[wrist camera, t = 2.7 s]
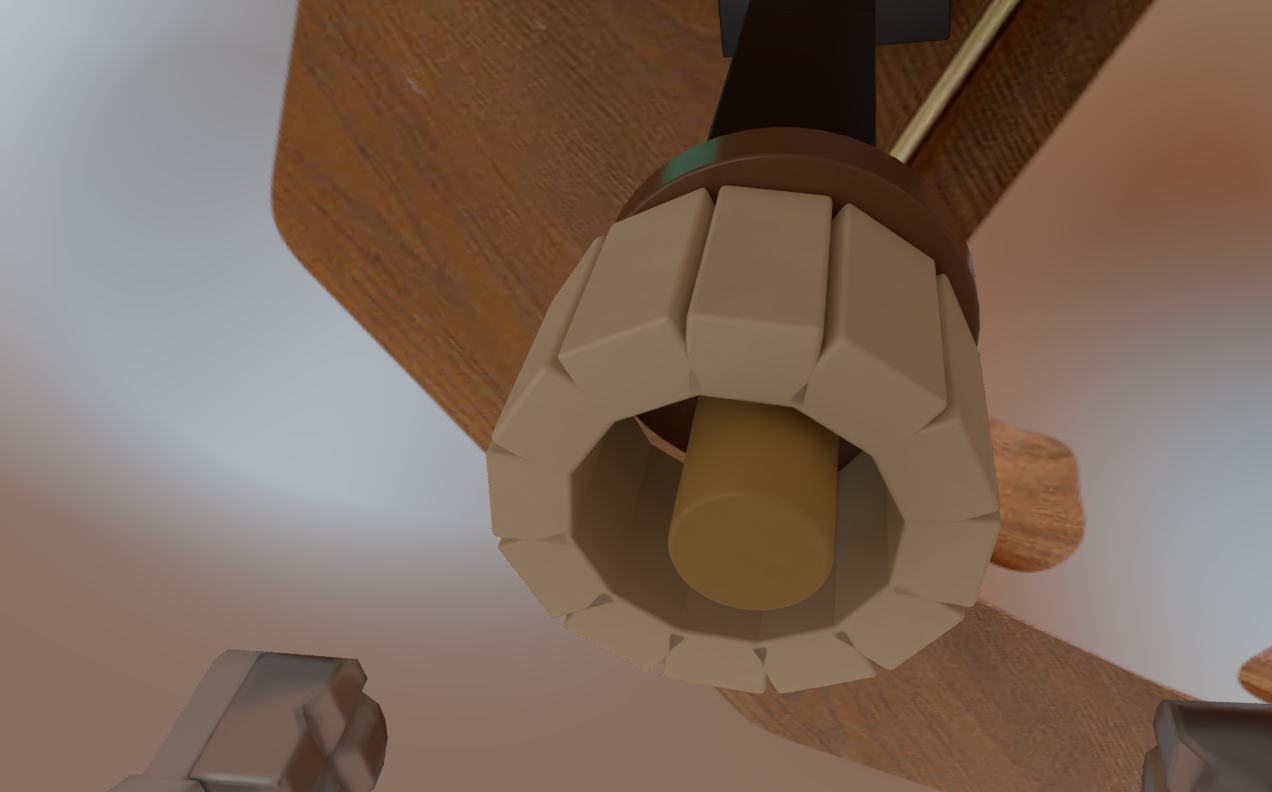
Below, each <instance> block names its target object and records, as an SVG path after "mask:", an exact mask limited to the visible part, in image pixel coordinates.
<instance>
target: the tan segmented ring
mask: <svg viewBox="0 0 1272 792" xmlns="http://www.w3.org/2000/svg"><path fill="white" fill-rule="evenodd" d="M832 204H833V203H832V199H831V197H829V196H825V195H815V194H806V193H796V192H787V191H777V190H767V189H758V188H748V187H739V186H729V185H725V186H722V187H721V189H720V190H719V194H718V198H717V202H716V205H715V204H714V202H713V201H712V199H711V197H710V195H709V193H708V191H707V190H706V189H705V188H700V189H697V190H695V191H693V192H690V193H688V194H685V195H683V196H680V197H678V198H676V199H673V200H671V201H668V202H666V203H663V204H661V205H658V206H656V207H654V208H651V209H649V210H646V211H644V212H641V213H639V214H637V215H634V216H632V217H629V218H627V219H624V220H622V221H619V222H617V223H615V224H613V225H612V226H611V228H610V230H609V233H608V235H607V238H605V237H603V236H599V237H598V238H596V239H595V240H594V242H593V243H592V245H591V246H590V248H589V249H588V250H587V252H586V253H585V255H584V256H583V258H582V259H581V261H580V262H579V263H578V265H577V266H576V268H575V269H574V271H573V272H572V273H571V275H570V276H569V278H568V279H567V281H566V282H565V284H564V285H563V286H562V288H561V289H560V291H559V292H558V294H557V295H556V297H555V298H554V299H553V301H552V302H551V305H550V307H549V309H548V311H547V314H546V316H545V318H544V320H543V322H542V325H541V327H540V329H539V331H538V333H537V336H536V338H535V340H534V342H533V345H532V347H531V349H530V351H529V353H528V356H527V358H526V360H525V362H524V364H523V367H522V369H521V371H520V373H519V376H518V378H517V380H516V382H515V384H514V387H513V389H512V391H511V393H510V395H509V398H508V400H507V402H506V404H505V407H504V409H503V411H502V413H501V415H500V418H499V420H498V422H497V424H496V426H495V429H494V431H493V433H492V442H491V444H490V446H489V449H488V451H487V453H486V459H487V471H488V483H489V496H490V508H491V520H492V532H493V534H494V535H495V536H499V537H502V538H501V540H500V543H499V546H498V548H499V550H500V552H501V553H502V554H503V556H504V557H505V558H506V559H507V561H508V562H509V563H510V564H511V566H512V567H513V568H514V570H515V571H516V572H517V573H518V575H519V576H520V577H521V579H522V580H523V581H524V582H525V584H526V585H527V586H528V587H529V589H530V590H531V591H532V593H533V594H534V595H535V597H536V598H537V599H538V600H539V602H540V603H541V604H542V606H543V607H544V608H545V609H546V611H547V612H548V613H549V615H550V616H551V617H559V616H562V615H567V616H566V619H565V623H564V626H565V628H567V629H569V630H570V631H572V632H574V633H576V634H578V635H580V636H582V637H583V638H585V639H587V640H589V641H591V642H592V643H594V644H596V645H598V646H600V647H602V648H603V649H605V650H607V651H609V652H611V653H613V654H615V655H616V656H618V657H620V658H622V659H624V660H625V661H627V662H629V663H631V664H633V665H635V666H637V667H638V668H640V669H642V670H644V671H646V672H651V671H652V670H653V669H654V668H655V667H656V666H658V665H659V664H660V663H661V662H662V661H663V660H664V666H663V674H664V677H665V678H667V679H673V680H680V681H686V682H692V683H698V684H704V685H710V686H716V687H722V688H728V689H734V690H740V691H747V692H753V693H759V694H761V693H764V691H765V690H766V683H767V677H768V678H769V679H770V681H771V682H772V684H773V685H774V687H775V688H776V690H777V691H778V692H779V693H782V694H783V693H789V692H794V691H800V690H805V689H811V688H816V687H822V686H827V685H833V684H838V683H844V682H849V681H855V680H860V679H866V678H871V677H874V676H876V674H877V664H879V665H881V666H883V667H884V668H886V669H888V670H892V669H894V668H896V667H897V666H899V665H900V664H901V663H903V662H904V661H906V660H907V659H908V658H910V657H911V656H913V655H914V654H915V653H917V652H918V651H920V650H921V649H923V648H924V647H925V646H927V645H928V644H930V643H931V642H932V641H934V640H935V639H937V638H938V637H939V636H941V635H942V634H944V633H945V632H947V631H948V630H949V629H951V628H952V627H954V626H955V625H956V624H958V623H959V622H961V621H962V620H963V619H964V616H965V612H964V606H967V607H971V606H974V605H975V603H976V600H977V597H978V594H979V591H980V588H981V585H982V582H983V579H984V576H985V573H986V570H987V567H988V564H989V561H990V558H991V555H992V552H993V549H994V546H995V543H996V540H997V537H998V534H999V531H1000V528H1001V521H1000V514H999V508H1000V501H999V493H998V486H997V479H996V471H995V464H994V457H993V449H992V442H991V434H990V427H989V420H988V412H987V405H986V398H985V391H984V384H983V376H982V368H981V361H980V354H979V352H978V349H977V346H976V344H975V342H974V339H973V337H972V334H971V332H970V330H969V327H968V325H967V322H966V320H965V317H964V315H963V313H962V310H961V308H960V305H959V303H958V300H957V298H956V296H955V293H954V291H953V288H952V286H951V284H950V281H949V279H948V277H947V276H946V275H945V274H939V275H936V270H935V262H934V260H933V259H932V258H930V257H929V256H927V255H926V254H924V253H923V252H921V251H920V250H918V249H917V248H916V247H914V246H913V245H911V244H910V243H908V242H907V241H905V240H904V239H902V238H901V237H899V236H898V235H896V234H895V233H893V232H892V231H891V230H889V229H888V228H886V227H885V226H883V225H882V224H880V223H879V222H877V221H876V220H874V219H873V218H871V217H870V216H868V215H867V214H865V213H864V212H863V211H861V210H860V209H858V208H857V207H855V206H854V205H852V204H850V203H848V204H846V205H845V206H844V207H843V208H842V209H841V210H840V211H839V212H838V213H837V215H836V216H835V217H834V218H833V219H832V220H831V218H832ZM698 395H702V396H710V397H717V398H725V399H733V400H741V401H748V402H756V403H764V404H771V405H779V406H787V407H794V408H796V409H797V410H799V411H800V412H802V413H804V414H805V415H807V416H808V417H810V418H812V419H813V420H815V421H816V422H818V423H820V424H821V425H823V426H824V427H826V428H828V429H829V430H831V431H833V432H834V433H836V434H837V435H839V436H841V437H842V438H844V439H845V440H847V441H849V442H850V443H852V444H853V445H855V446H857V447H858V448H860V449H861V450H863V451H861V452H860V453H859V454H858V455H857V456H856V457H855V458H854V459H853V460H852V461H851V462H849V463H848V464H847V465H846V466H845V467H844V468H843V469H842V470H840V471H837V494H836V518H835V541H834V562H833V566H832V569H831V572H830V574H829V576H828V578H827V579H826V580H825V582H824V583H823V585H822V586H821V587H820V588H819V589H818V590H817V591H816V592H815V593H814V594H812V595H811V596H810V597H808V598H807V599H805V600H803V601H801V602H799V603H796V604H794V605H791V606H788V607H784V608H779V609H773V610H745V609H739V608H734V607H730V606H727V605H723V604H721V603H718V602H715V601H713V600H711V599H709V598H707V597H705V596H703V595H702V594H700V593H698V592H697V591H696V590H694V589H693V588H692V587H691V586H689V585H688V584H687V583H686V582H685V581H684V580H683V578H682V577H681V576H680V575H679V573H678V572H677V570H676V569H675V567H674V565H673V562H672V560H671V557H670V554H669V550H668V534H669V529H670V524H671V520H672V515H673V511H674V506H675V501H676V497H677V492H678V488H679V483H680V478H681V474H682V469H683V465H684V464H683V463H682V462H680V461H678V460H677V459H675V458H673V457H672V456H670V455H668V454H667V453H665V452H663V451H662V450H660V449H658V448H657V447H655V446H653V445H652V444H651V443H650V441H649V440H648V438H647V437H646V435H645V434H644V432H643V430H642V429H641V427H640V426H639V424H638V423H637V421H636V419H635V418H634V416H635V415H638V414H641V413H644V412H647V411H651V410H654V409H657V408H660V407H663V406H666V405H669V404H672V403H676V402H679V401H682V400H685V399H688V398H691V397H694V396H698Z"/></svg>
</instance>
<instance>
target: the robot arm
mask: <svg viewBox="0 0 1272 792" xmlns="http://www.w3.org/2000/svg"><path fill="white" fill-rule="evenodd" d="M366 681H367V676H366V675H365V673H364V671H363V669H362V667H361V665H360V663H359V661H358V659H351V658H338V657H325V656H313V655H300V654H299V655H298V654H287V653H274V652H262V651H245V650H227V651H225V652H224V653H223V654H222V655H220V656H219V657H218V658H216V659H215V660H214V661H213V663H212V664H211V666H210V667H209V669H208V671H207V672H206V674H205V676H204V677H203V679H202V680H201V682H200V683H199V685H198V687H197V688H196V690H195V692H194V693H193V695H192V696H191V698H190V700H189V701H188V703H187V704H186V706H185V708H184V709H183V711H182V712H181V714H180V716H179V717H178V719H177V720H176V722H175V724H174V725H173V727H172V729H171V730H170V732H169V733H168V735H167V737H166V738H165V740H164V742H163V743H162V745H161V746H160V748H159V749H158V751H157V753H156V754H155V756H154V758H153V759H152V761H151V762H150V764H149V765H148V767H147V769H146V770H145V772H144V774H143V775H129V776H128V777H127V778H125V779H124V780H122V781H121V782H120V783H118V784H117V785H115V786H114V787H113V788H111V789H110V790H109V791H107V792H371V791H372V790H373V789H374V788H375V785H376V783H377V780H378V778H379V775H380V772H381V770H382V767H383V765H384V759H385V752H386V745H387V738H388V737H387V730H386V722H385V717H384V715H383V713H382V710H381V708H380V705H379V704H378V703H377V702H375V701H374V700H373V699H371V698H370V697H369V696H367V695H366V694H365V693H363V692H362V689H363V687H364V685H365V683H366ZM1153 727H1154V731H1155V735H1156V740H1157V744H1158V746H1156V747H1155V748H1153V749H1152V750H1150V751H1149V752H1147V753H1146V755H1145V761H1144V766H1143V772H1142V792H1272V704H1257V703H1231V702H1206V701H1180V700H1162V702H1161V703H1160V704H1159V705H1158V706H1157V709H1156V713H1155V717H1154V721H1153Z"/></svg>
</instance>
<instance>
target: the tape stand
mask: <svg viewBox="0 0 1272 792" xmlns="http://www.w3.org/2000/svg"><path fill="white" fill-rule="evenodd" d="M718 7H719V17H720V28H721V39H722V49H723V56H724V57H732V61H731V64H730V67H729V71H728V74H727V77H726V81H725V84H724V87H723V90H722V94H721V97H720V100H719V104H718V107H717V110H716V114H715V117H714V120H713V124H712V127H711V130H710V134H709V137H708V140H707V142H704V143H702V144H699V145H697V146H694V147H692V148H691V149H689V150H687V151H685V152H683V153H682V154H680V155H678V156H676V157H674V158H673V159H671V160H670V161H669V162H667V163H666V164H665V165H663V166H662V167H661V168H659V169H658V170H657V171H655V172H654V173H653V174H652V175H651V176H650V177H649V178H648V179H647V180H646V181H645V182H644V183H643V184H642V185H641V186H640V187H639V188H638V189H637V190H636V191H635V192H634V194H633V195H632V196H631V198H630V199H629V200H628V202H627V203H626V204H625V206H624V207H623V209H622V210H621V212H620V214H619V216H618V218H617V220H616V222H615V223H617V222H619V221H622V220H624V219H627V218H629V217H632V216H634V215H637V214H639V213H641V212H644V211H646V210H649V209H651V208H654V207H656V206H658V205H661V204H663V203H666V202H668V201H671V200H673V199H676V198H678V197H680V196H683V195H685V194H688V193H690V192H693V191H695V190H697V189H700V188H705V189H706V190H707V191H708V193H709V195H710V197H711V199H712V201H713V202H714V204H715V205H716V202H717V198H718V194H719V190H720V189H721V187H722V186H725V185H729V186H739V187H748V188H758V189H767V190H777V191H787V192H796V193H806V194H815V195H825V196H829V197H831V199H832V203H833V204H832V218H831V220H832V219H833V218H834V217H835V216H836V215H837V213H838V212H839V211H840V210H841V209H842V208H843V207H844V206H845V205H846V204H848V203H850V204H852V205H854V206H855V207H857V208H858V209H860V210H861V211H863V212H864V213H865V214H867V215H868V216H870V217H871V218H873V219H874V220H876V221H877V222H879V223H880V224H882V225H883V226H885V227H886V228H888V229H889V230H891V231H892V232H893V233H895V234H896V235H898V236H899V237H901V238H902V239H904V240H905V241H907V242H908V243H910V244H911V245H913V246H914V247H916V248H917V249H918V250H920V251H921V252H923V253H924V254H926V255H927V256H929V257H930V258H932V259H933V260H934V262H935V270H936V275H939V274H945V275H946V276H947V277H948V279H949V281H950V284H951V286H952V288H953V291H954V293H955V296H956V298H957V300H958V303H959V305H960V308H961V310H962V313H963V315H964V317H965V320H966V322H967V325H968V327H969V330H970V332H971V334H972V337H973V339H974V342H975V344H976V346H977V344H978V336H979V329H980V324H979V323H980V321H979V302H978V295H977V289H976V281H975V275H974V269H973V264H972V259H971V254H970V251H969V248H968V245H967V242H966V240H965V237H964V234H963V232H962V230H961V228H960V226H959V224H958V223H957V221H956V219H955V217H954V215H953V213H952V212H951V210H950V209H949V208H948V206H947V205H946V204H945V202H944V201H943V200H942V199H941V197H940V196H939V195H938V193H937V192H936V191H935V190H934V189H933V188H932V187H931V186H930V185H929V184H928V183H927V182H926V181H925V180H924V179H923V178H922V177H921V176H920V175H918V174H917V173H916V172H914V171H913V170H912V169H910V168H909V167H908V166H906V165H905V164H903V163H902V162H901V161H899V160H898V159H896V158H894V157H892V156H891V155H889V154H887V153H885V152H883V151H882V150H880V149H878V148H877V124H876V45H888V44H900V43H913V42H925V41H938V40H948V39H949V38H950V14H951V0H718ZM635 416H636V417H637V418H638V419H639V420H640V421H641V422H642V423H643V424H644V425H645V426H646V427H647V428H649V429H650V430H651V431H652V432H654V433H655V434H656V435H657V436H659V437H660V438H661V439H663V440H664V441H666V442H667V443H669V444H671V445H672V446H674V447H675V448H677V449H679V450H680V451H682V452H684V453H686V455H685V460H684V465H683V469H682V474H681V478H680V483H679V488H678V492H677V497H676V501H675V506H674V511H673V515H672V520H671V524H670V529H669V534H668V550H669V554H670V557H671V560H672V562H673V565H674V567H675V569H676V570H677V572H678V573H679V575H680V576H681V577H682V578H683V580H684V581H685V582H686V583H687V584H688V585H689V586H691V587H692V588H693V589H694V590H696V591H697V592H698V593H700V594H702V595H703V596H705V597H707V598H709V599H711V600H713V601H715V602H718V603H721V604H723V605H727V606H730V607H734V608H739V609H745V610H773V609H779V608H784V607H788V606H791V605H794V604H796V603H799V602H801V601H803V600H805V599H807V598H808V597H810V596H811V595H812V594H814V593H815V592H816V591H817V590H818V589H819V588H820V587H821V586H822V585H823V583H824V582H825V580H826V579H827V578H828V576H829V574H830V572H831V569H832V566H833V562H834V541H835V518H836V494H837V471H840V470H842V469H843V468H844V467H845V466H846V465H847V464H848V463H849V462H851V461H852V460H853V459H854V458H855V457H856V456H857V455H858V454H859V453H860V452H861V451H863V450H861V449H860V448H858V447H857V446H855V445H853V444H852V443H850V442H849V441H847V440H845V439H844V438H842V437H841V436H839V435H837V434H836V433H834V432H833V431H831V430H829V429H828V428H826V427H824V426H823V425H821V424H820V423H818V422H816V421H815V420H813V419H812V418H810V417H808V416H807V415H805V414H804V413H802V412H800V411H799V410H797V409H796V408H794V407H787V406H779V405H771V404H764V403H756V402H748V401H741V400H733V399H725V398H717V397H710V396H702V395H698V396H694V397H691V398H688V399H685V400H682V401H679V402H676V403H672V404H669V405H666V406H663V407H660V408H657V409H654V410H651V411H647V412H644V413H641V414H638V415H635Z"/></svg>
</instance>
